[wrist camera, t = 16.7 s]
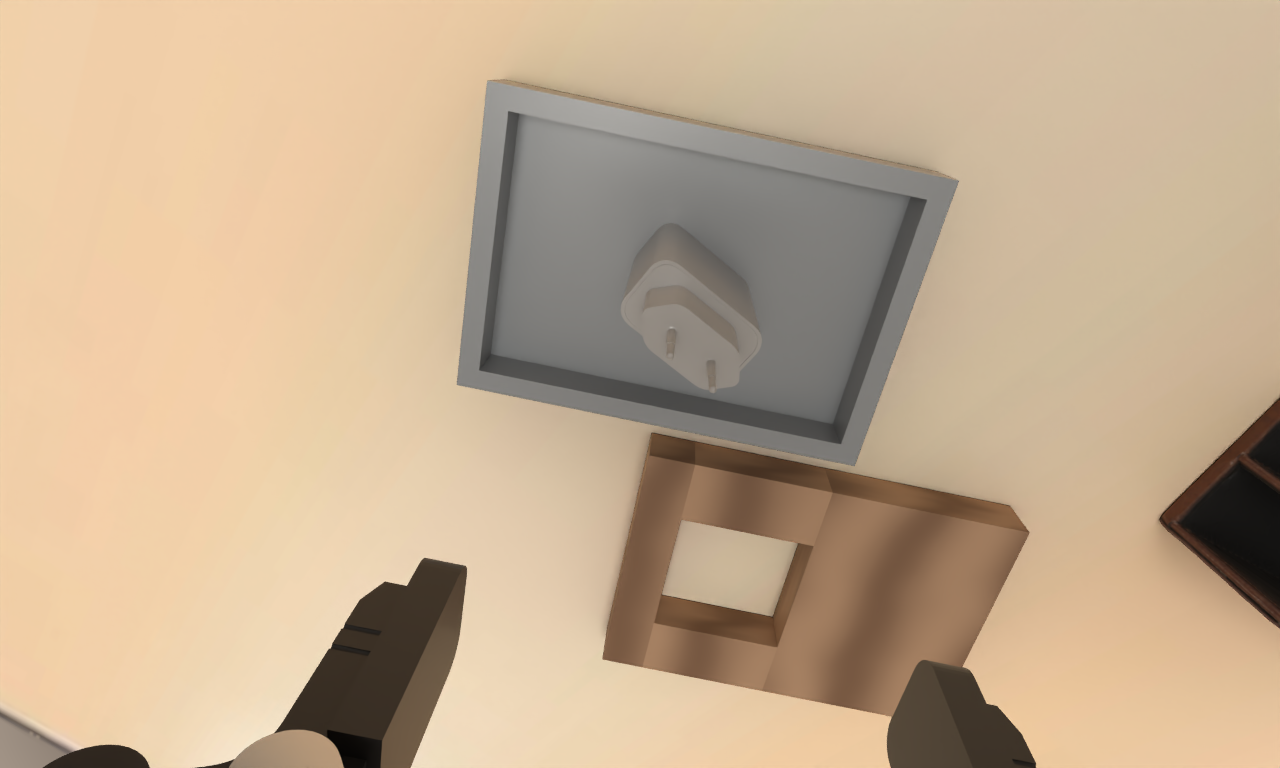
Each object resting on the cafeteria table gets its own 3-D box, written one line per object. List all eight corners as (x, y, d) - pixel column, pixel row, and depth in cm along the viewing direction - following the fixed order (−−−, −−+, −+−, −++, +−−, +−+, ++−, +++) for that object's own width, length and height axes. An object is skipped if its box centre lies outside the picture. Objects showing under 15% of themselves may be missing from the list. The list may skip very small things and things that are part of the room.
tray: (936, 171, 33) (958, 180, 30) (842, 437, 39) (854, 466, 36) (504, 79, 33) (487, 80, 30) (473, 362, 38) (456, 384, 35)
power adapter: (668, 216, 34) (657, 287, 23) (755, 288, 35) (785, 389, 24) (627, 266, 35) (598, 357, 24) (712, 335, 36) (722, 452, 25)
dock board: (1009, 506, 40) (1029, 532, 37) (920, 691, 45) (933, 724, 43) (651, 432, 39) (649, 455, 37) (607, 629, 45) (602, 659, 42)
